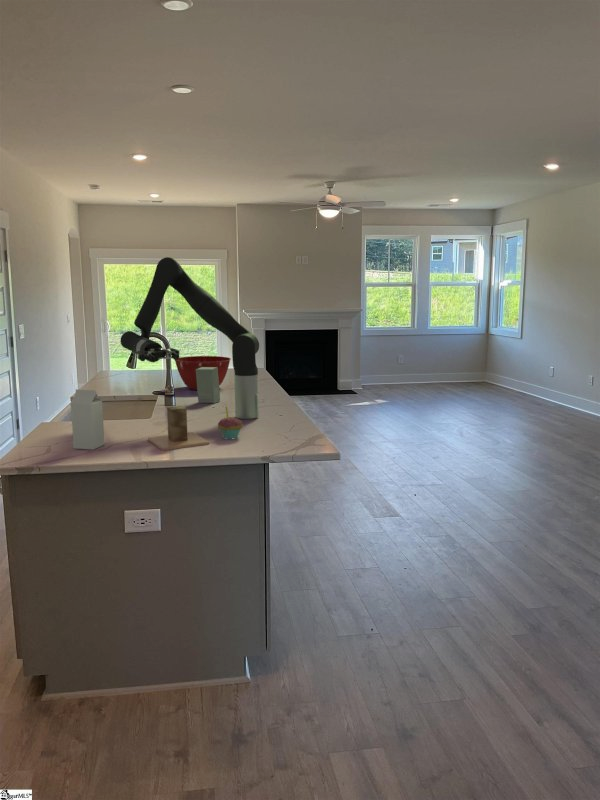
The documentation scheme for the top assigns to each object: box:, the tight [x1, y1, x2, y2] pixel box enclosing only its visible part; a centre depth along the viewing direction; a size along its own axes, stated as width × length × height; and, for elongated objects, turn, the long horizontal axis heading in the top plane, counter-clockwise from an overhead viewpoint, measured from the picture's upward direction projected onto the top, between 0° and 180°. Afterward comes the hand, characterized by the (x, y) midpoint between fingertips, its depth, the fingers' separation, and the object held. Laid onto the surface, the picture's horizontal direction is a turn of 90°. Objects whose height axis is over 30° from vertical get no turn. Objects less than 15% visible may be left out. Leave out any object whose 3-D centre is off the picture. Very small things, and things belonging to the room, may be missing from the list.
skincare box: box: [196, 367, 221, 404], centre depth 278 cm, size 8×7×16 cm
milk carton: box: [70, 389, 105, 450], centre depth 201 cm, size 7×7×19 cm
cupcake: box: [217, 405, 243, 440], centre depth 214 cm, size 9×8×12 cm
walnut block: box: [166, 405, 188, 442], centre depth 208 cm, size 5×5×11 cm
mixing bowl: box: [174, 355, 232, 391], centre depth 317 cm, size 28×28×16 cm
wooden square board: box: [147, 431, 210, 451], centre depth 209 cm, size 16×16×1 cm
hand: (165, 358), depth 217 cm, fingers open, 8 cm apart
